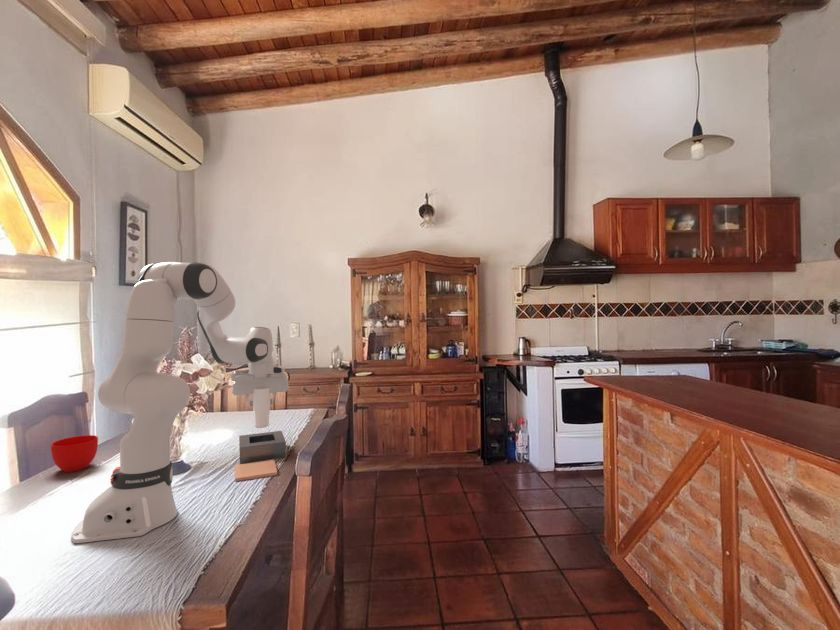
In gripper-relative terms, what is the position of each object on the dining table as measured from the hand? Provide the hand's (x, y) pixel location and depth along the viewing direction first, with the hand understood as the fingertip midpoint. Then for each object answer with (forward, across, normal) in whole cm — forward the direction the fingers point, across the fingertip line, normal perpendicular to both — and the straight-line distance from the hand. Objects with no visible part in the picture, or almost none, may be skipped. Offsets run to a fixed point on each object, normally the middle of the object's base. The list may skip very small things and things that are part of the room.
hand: (261, 404), depth 163 cm
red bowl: (+20, -61, +15) cm, 66 cm away
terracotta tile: (+19, -3, -18) cm, 26 cm away
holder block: (+19, 0, 0) cm, 19 cm away
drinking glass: (+9, 0, 0) cm, 9 cm away
